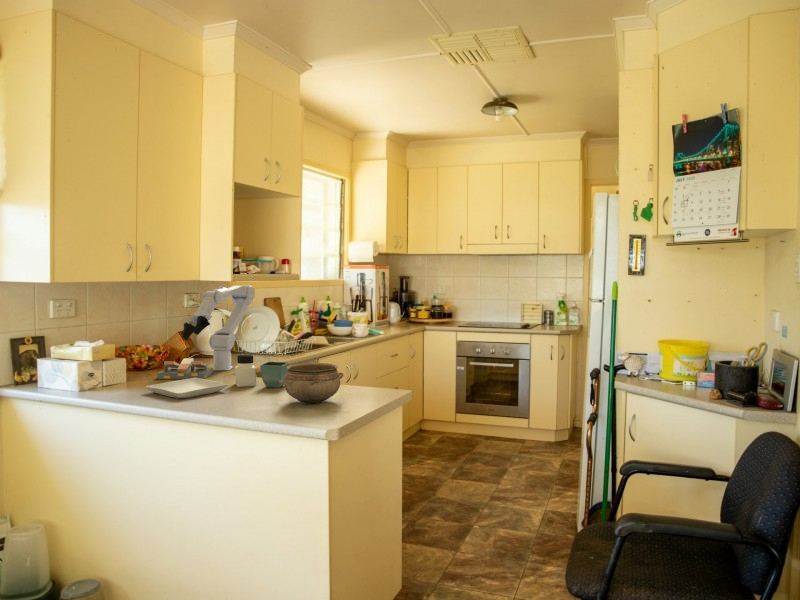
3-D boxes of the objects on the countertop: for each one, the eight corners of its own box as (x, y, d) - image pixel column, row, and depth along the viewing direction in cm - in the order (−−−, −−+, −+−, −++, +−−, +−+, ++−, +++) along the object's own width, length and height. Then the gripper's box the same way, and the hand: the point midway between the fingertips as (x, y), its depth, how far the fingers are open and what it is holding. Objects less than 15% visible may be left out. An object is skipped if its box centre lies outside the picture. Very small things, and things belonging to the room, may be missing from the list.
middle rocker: (184, 360, 267) (183, 358, 267) (193, 360, 268) (193, 358, 267) (177, 371, 258) (177, 369, 258) (187, 371, 258) (187, 369, 258)
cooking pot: (327, 393, 227) (327, 360, 227) (358, 402, 213) (358, 366, 212) (265, 402, 211) (265, 366, 210) (295, 412, 197) (295, 374, 196)
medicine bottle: (256, 385, 241) (256, 355, 241) (237, 387, 239) (237, 355, 238) (253, 382, 248) (253, 352, 248) (235, 383, 245) (234, 353, 245)
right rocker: (197, 368, 268) (197, 365, 268) (206, 367, 268) (207, 365, 268) (191, 364, 258) (191, 361, 259) (200, 364, 259) (201, 361, 259)
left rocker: (171, 368, 267) (171, 365, 268) (180, 368, 268) (181, 365, 268) (164, 364, 258) (164, 361, 258) (173, 364, 258) (174, 361, 258)
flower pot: (282, 389, 235) (282, 365, 235) (259, 388, 236) (259, 364, 236) (289, 385, 244) (289, 362, 243) (268, 384, 245) (268, 361, 245)
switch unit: (168, 373, 270) (168, 362, 269) (212, 373, 271) (212, 362, 270) (157, 378, 255) (157, 367, 255) (204, 378, 256) (204, 367, 256)
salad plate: (178, 402, 213) (178, 392, 213) (144, 394, 226) (144, 385, 226) (229, 392, 230) (229, 383, 230) (195, 386, 243) (195, 377, 242)
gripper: (186, 311, 268) (172, 334, 259) (207, 301, 260) (193, 324, 251) (198, 321, 272) (185, 344, 262) (219, 312, 264) (206, 335, 255)
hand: (189, 335), depth 257 cm, fingers open, 7 cm apart
